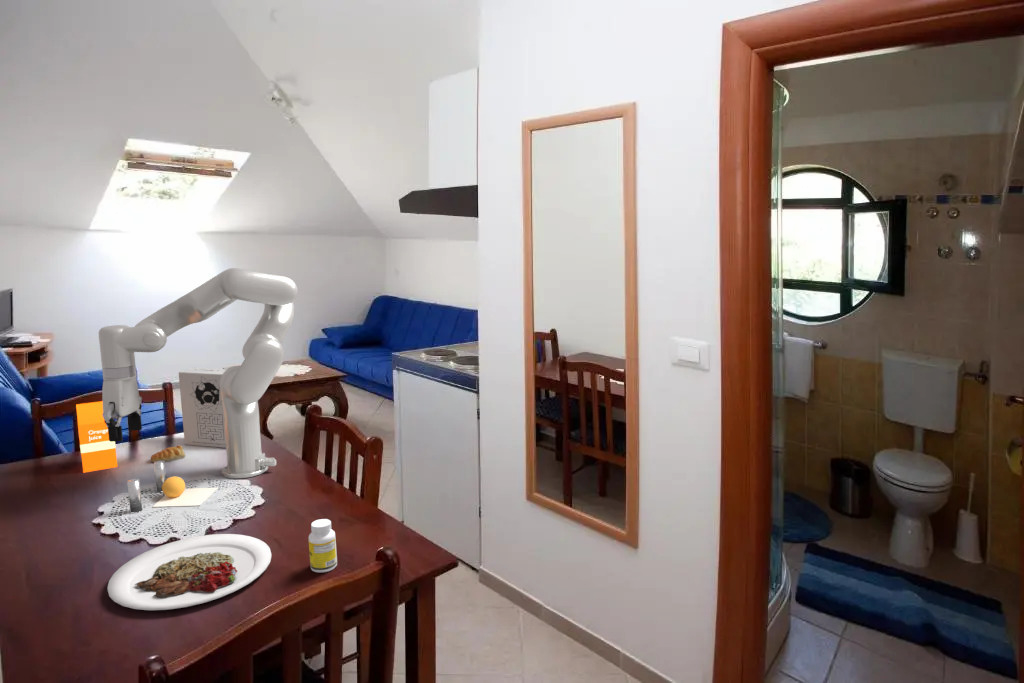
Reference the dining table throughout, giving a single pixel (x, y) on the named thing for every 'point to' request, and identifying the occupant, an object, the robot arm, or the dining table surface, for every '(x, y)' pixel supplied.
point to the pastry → (169, 454)
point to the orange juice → (94, 438)
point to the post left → (134, 495)
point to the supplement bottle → (322, 546)
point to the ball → (173, 487)
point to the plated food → (189, 572)
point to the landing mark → (187, 498)
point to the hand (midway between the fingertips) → (126, 435)
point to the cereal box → (202, 407)
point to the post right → (159, 474)
